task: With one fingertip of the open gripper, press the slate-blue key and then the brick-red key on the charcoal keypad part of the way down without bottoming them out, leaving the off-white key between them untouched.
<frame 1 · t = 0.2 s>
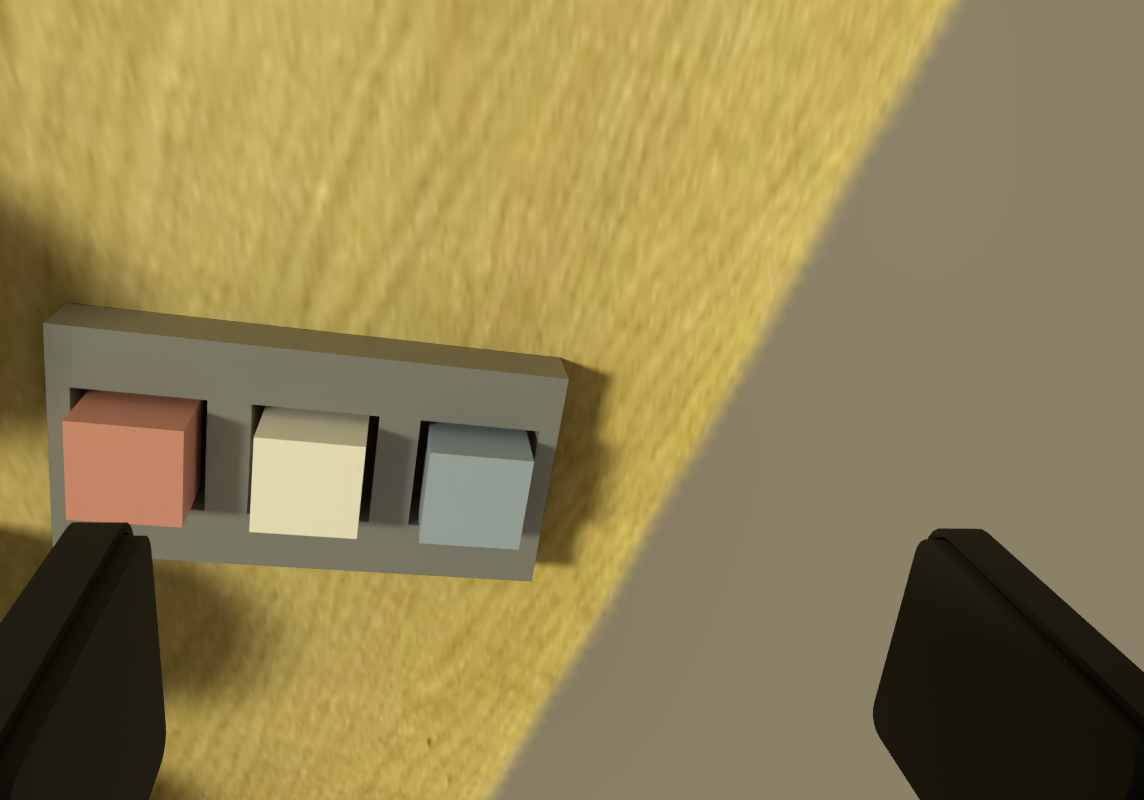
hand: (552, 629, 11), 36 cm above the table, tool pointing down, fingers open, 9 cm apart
slate-blue key: (473, 483, 47), point 4 cm above the table, slide at 0.0 cm
brick-red key: (136, 456, 43), point 4 cm above the table, slide at 0.0 cm
off-white key: (311, 470, 45), point 3 cm above the table, slide at 0.0 cm
keypad base: (318, 439, 48), on the table
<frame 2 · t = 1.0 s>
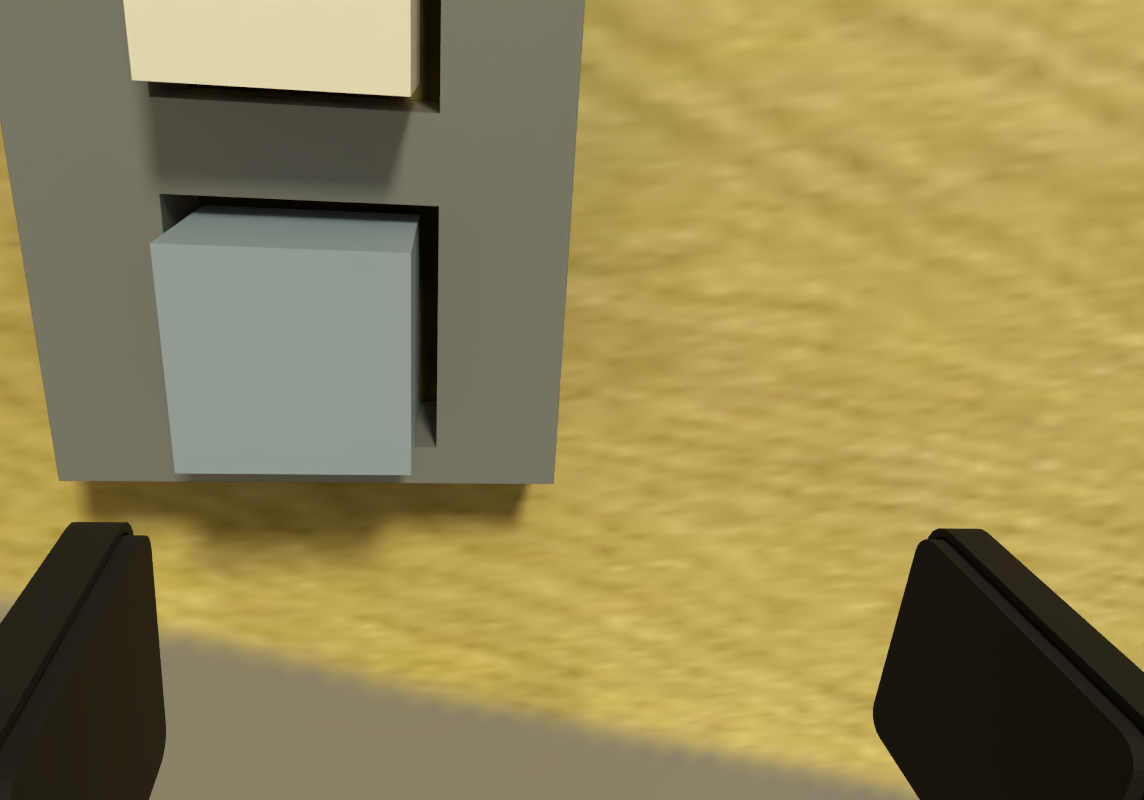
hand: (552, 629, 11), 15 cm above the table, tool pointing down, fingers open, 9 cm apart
slate-blue key: (304, 336, 21), point 3 cm above the table, slide at 0.0 cm
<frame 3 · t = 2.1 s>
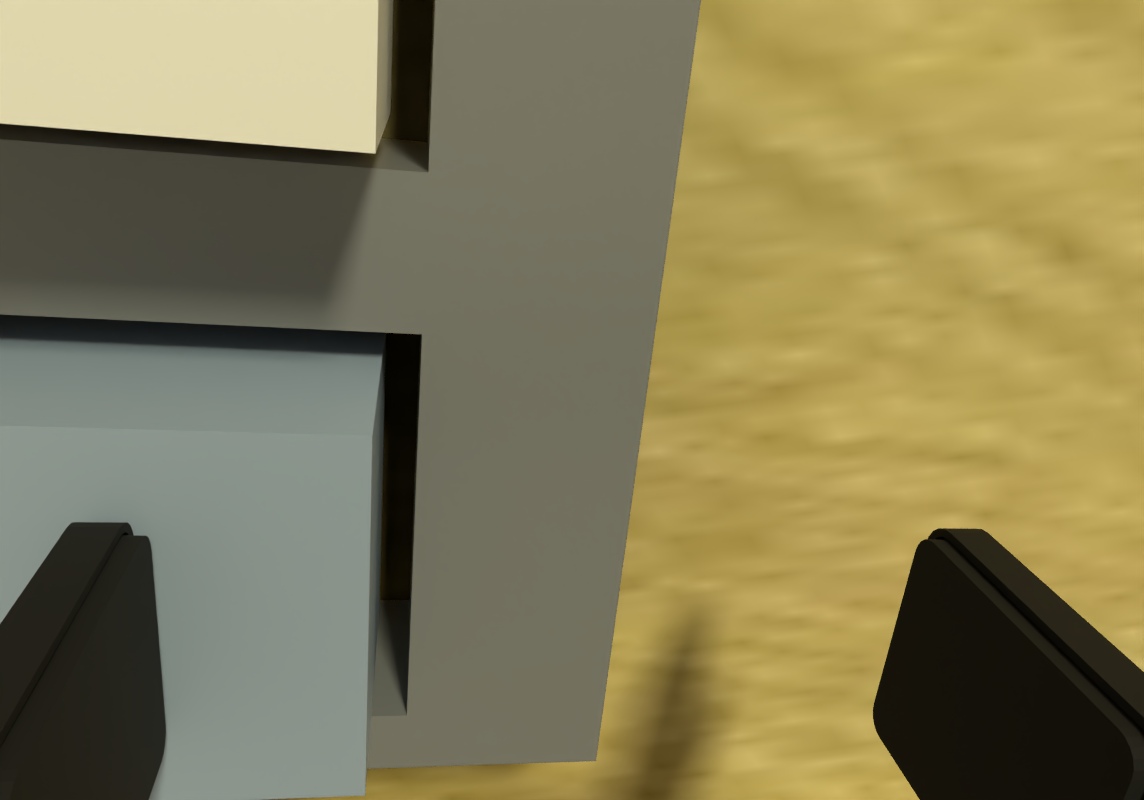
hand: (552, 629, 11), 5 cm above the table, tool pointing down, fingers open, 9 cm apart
slate-blue key: (182, 540, 12), point 3 cm above the table, slide at 0.5 cm
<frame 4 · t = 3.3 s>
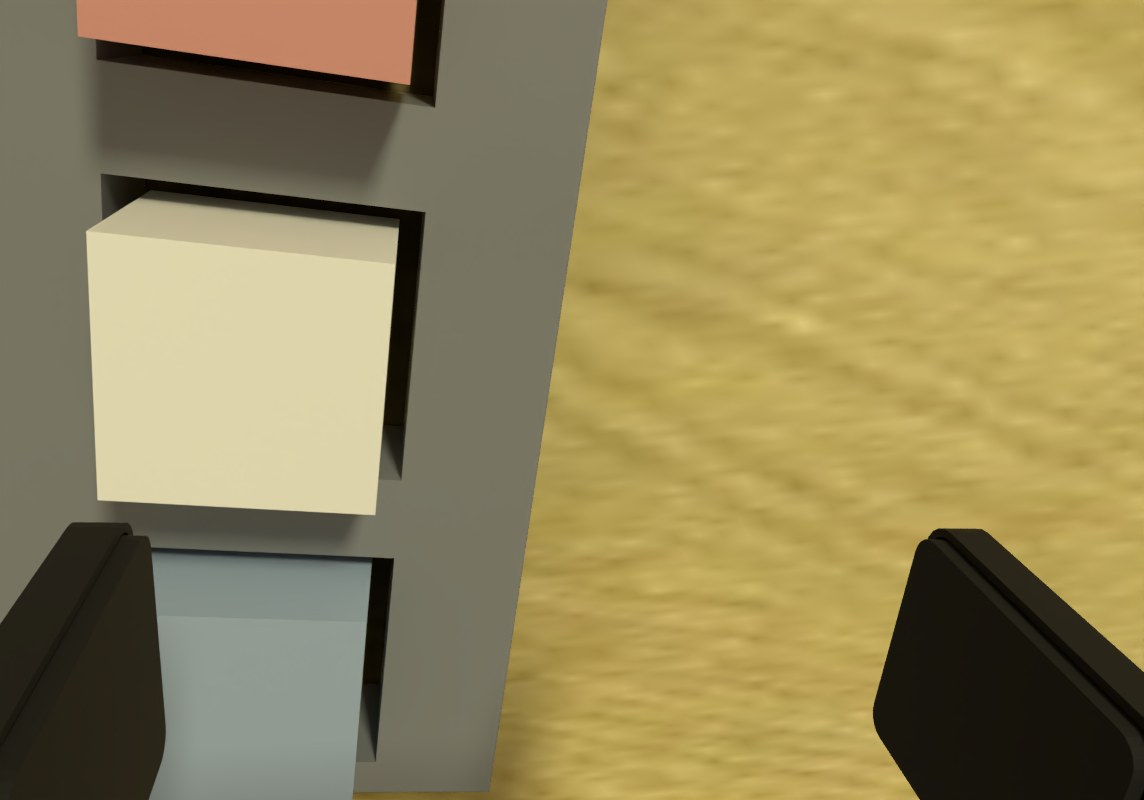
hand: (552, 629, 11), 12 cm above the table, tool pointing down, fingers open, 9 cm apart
slate-blue key: (256, 656, 22), point 3 cm above the table, slide at 0.7 cm
off-white key: (260, 348, 18), point 4 cm above the table, slide at 0.0 cm
keypad base: (284, 299, 21), on the table
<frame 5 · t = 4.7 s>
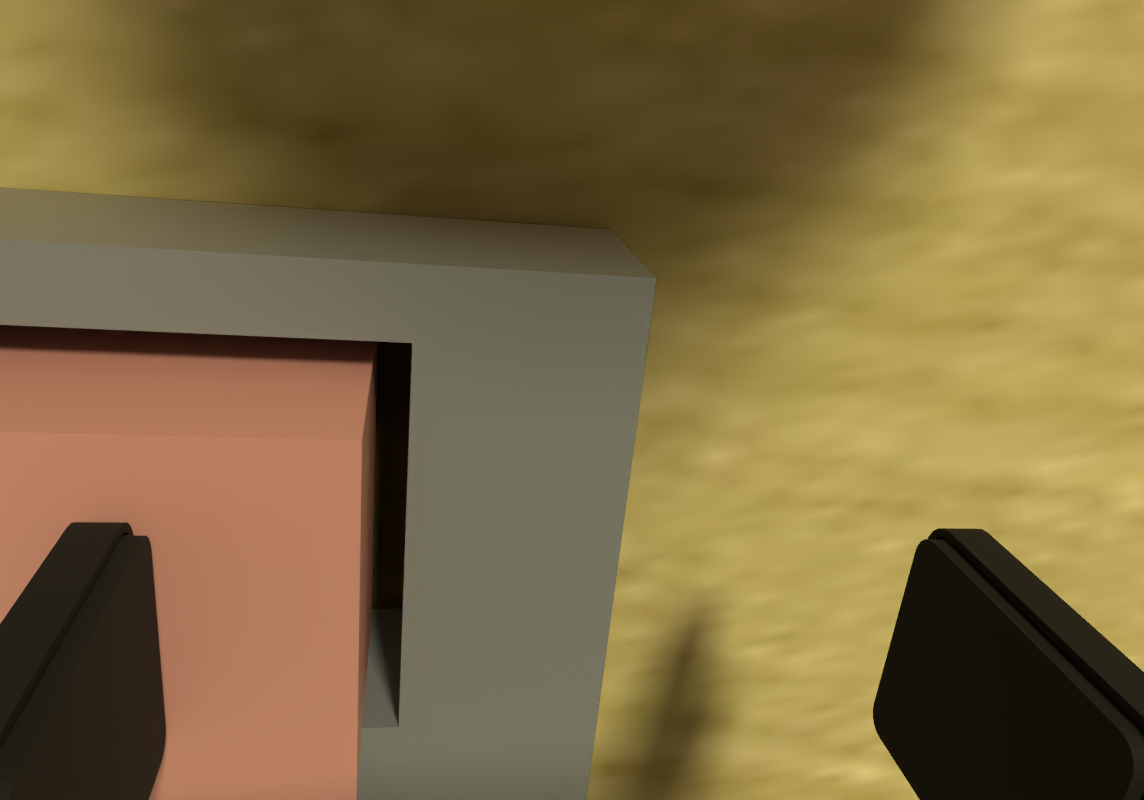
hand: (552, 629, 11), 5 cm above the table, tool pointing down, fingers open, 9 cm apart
brick-red key: (173, 545, 12), point 3 cm above the table, slide at 0.6 cm, touching gripper
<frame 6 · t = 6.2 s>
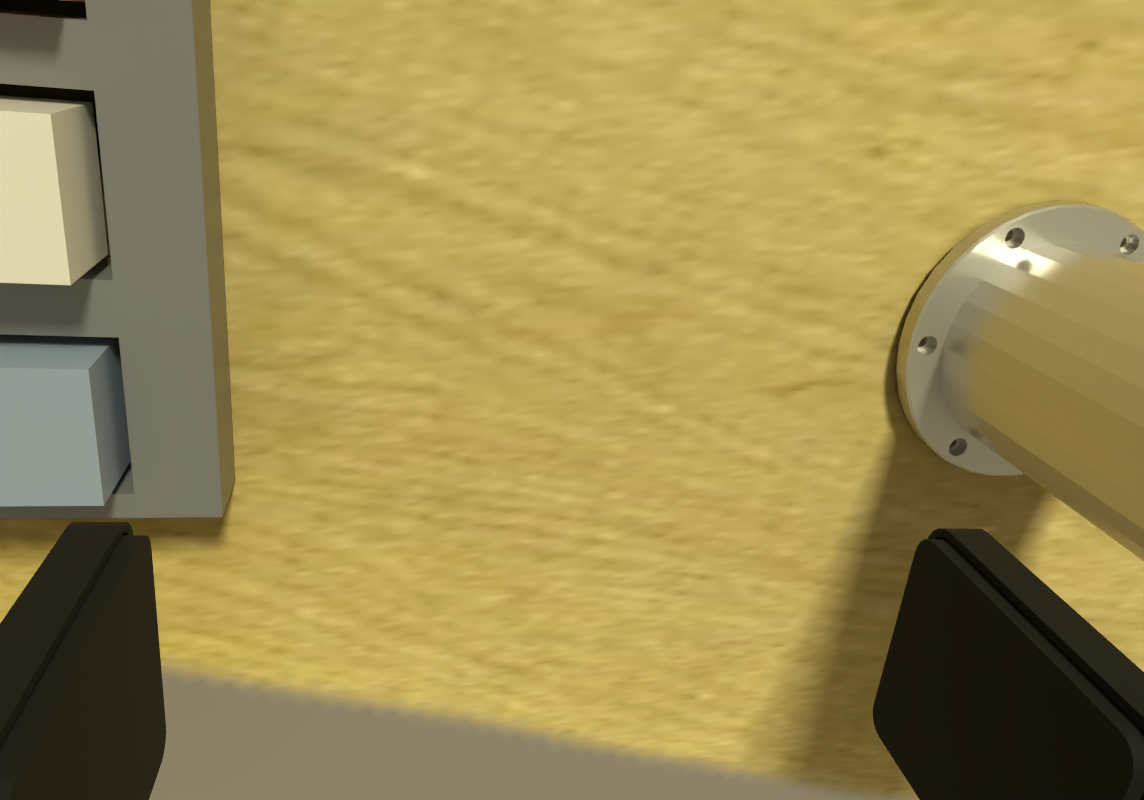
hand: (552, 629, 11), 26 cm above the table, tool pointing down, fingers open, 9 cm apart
slate-blue key: (35, 414, 32), point 3 cm above the table, slide at 0.7 cm
keypad base: (34, 168, 31), on the table
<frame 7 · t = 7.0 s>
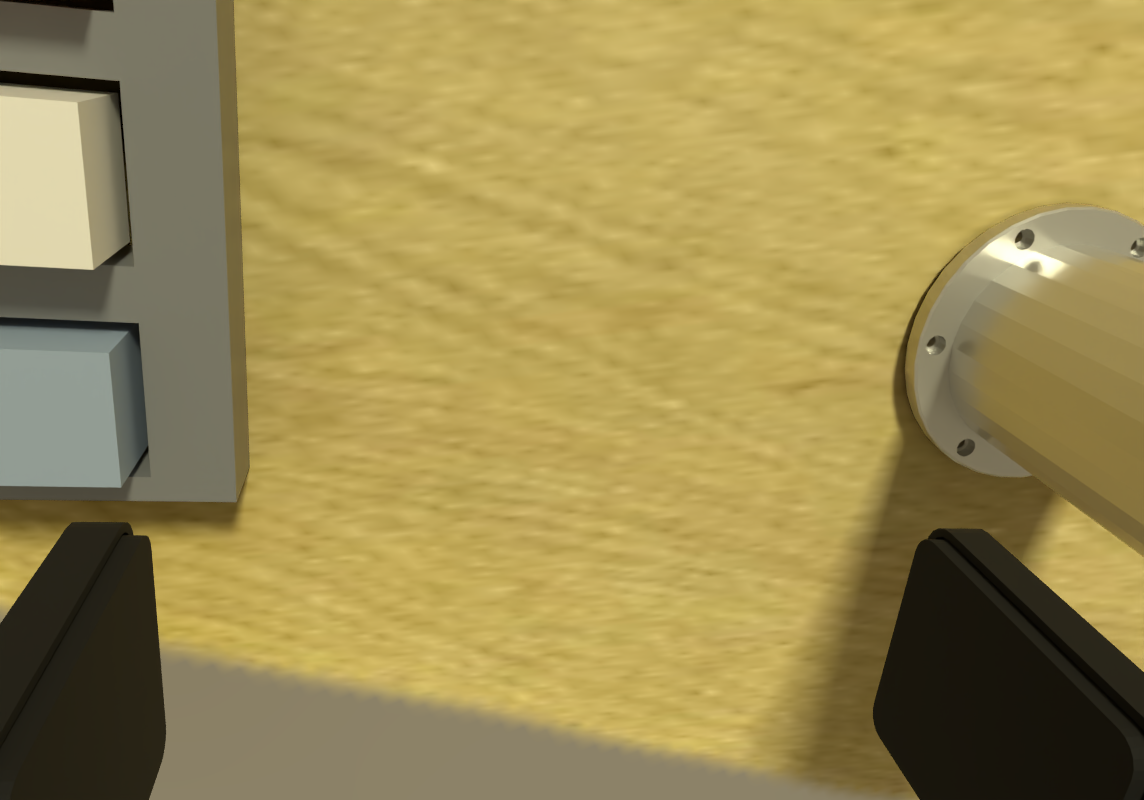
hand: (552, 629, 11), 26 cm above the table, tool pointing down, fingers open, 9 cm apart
slate-blue key: (56, 397, 33), point 3 cm above the table, slide at 0.7 cm
off-white key: (21, 172, 29), point 3 cm above the table, slide at 0.0 cm
keypad base: (60, 157, 32), on the table
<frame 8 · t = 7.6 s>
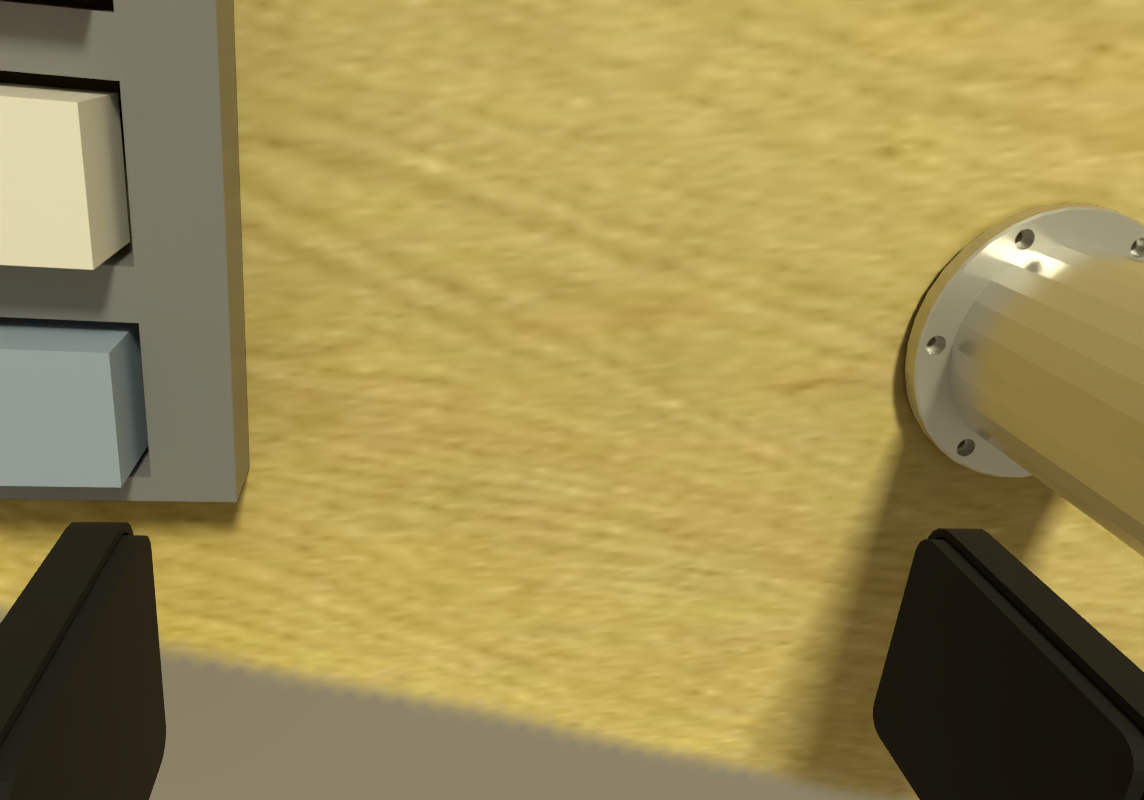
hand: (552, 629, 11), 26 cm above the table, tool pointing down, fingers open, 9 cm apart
slate-blue key: (56, 397, 33), point 3 cm above the table, slide at 0.7 cm
off-white key: (21, 172, 29), point 3 cm above the table, slide at 0.0 cm
keypad base: (60, 157, 32), on the table
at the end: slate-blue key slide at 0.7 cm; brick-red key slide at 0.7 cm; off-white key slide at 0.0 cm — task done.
